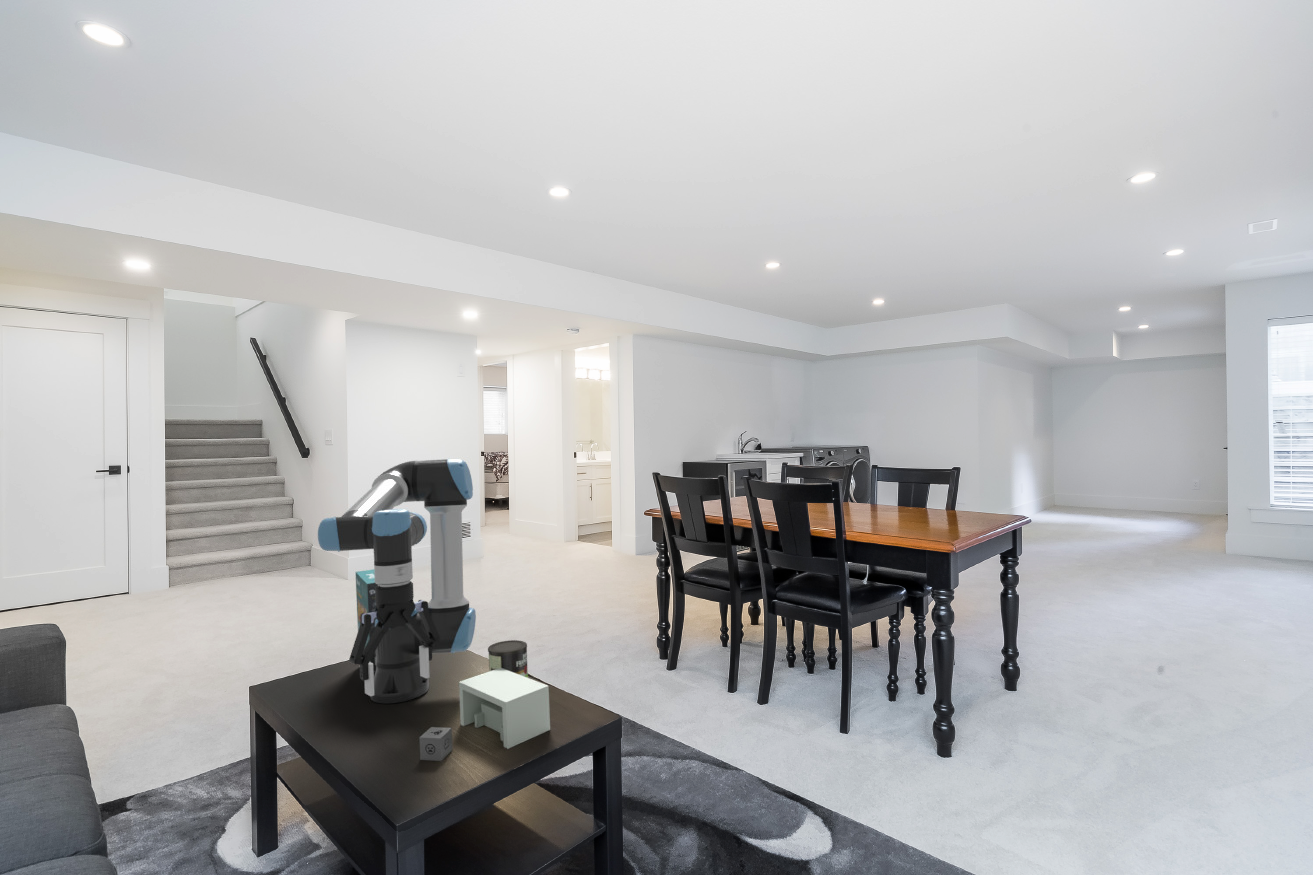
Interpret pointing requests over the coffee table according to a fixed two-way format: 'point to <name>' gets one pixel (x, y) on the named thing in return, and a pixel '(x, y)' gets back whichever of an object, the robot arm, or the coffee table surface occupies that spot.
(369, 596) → the cake mix box
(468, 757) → the coffee table surface
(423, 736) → the dice cube
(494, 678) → the shelf
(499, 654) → the coffee can
